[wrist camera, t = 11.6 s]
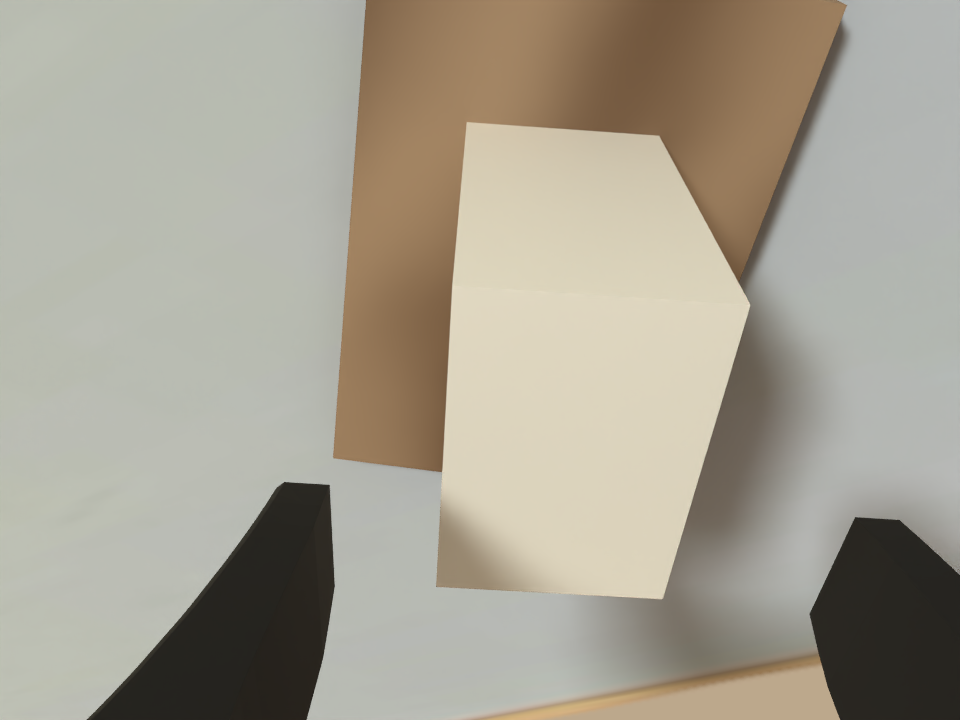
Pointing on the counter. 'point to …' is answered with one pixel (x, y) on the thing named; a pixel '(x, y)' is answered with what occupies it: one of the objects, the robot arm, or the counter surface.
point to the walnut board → (548, 104)
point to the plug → (578, 363)
